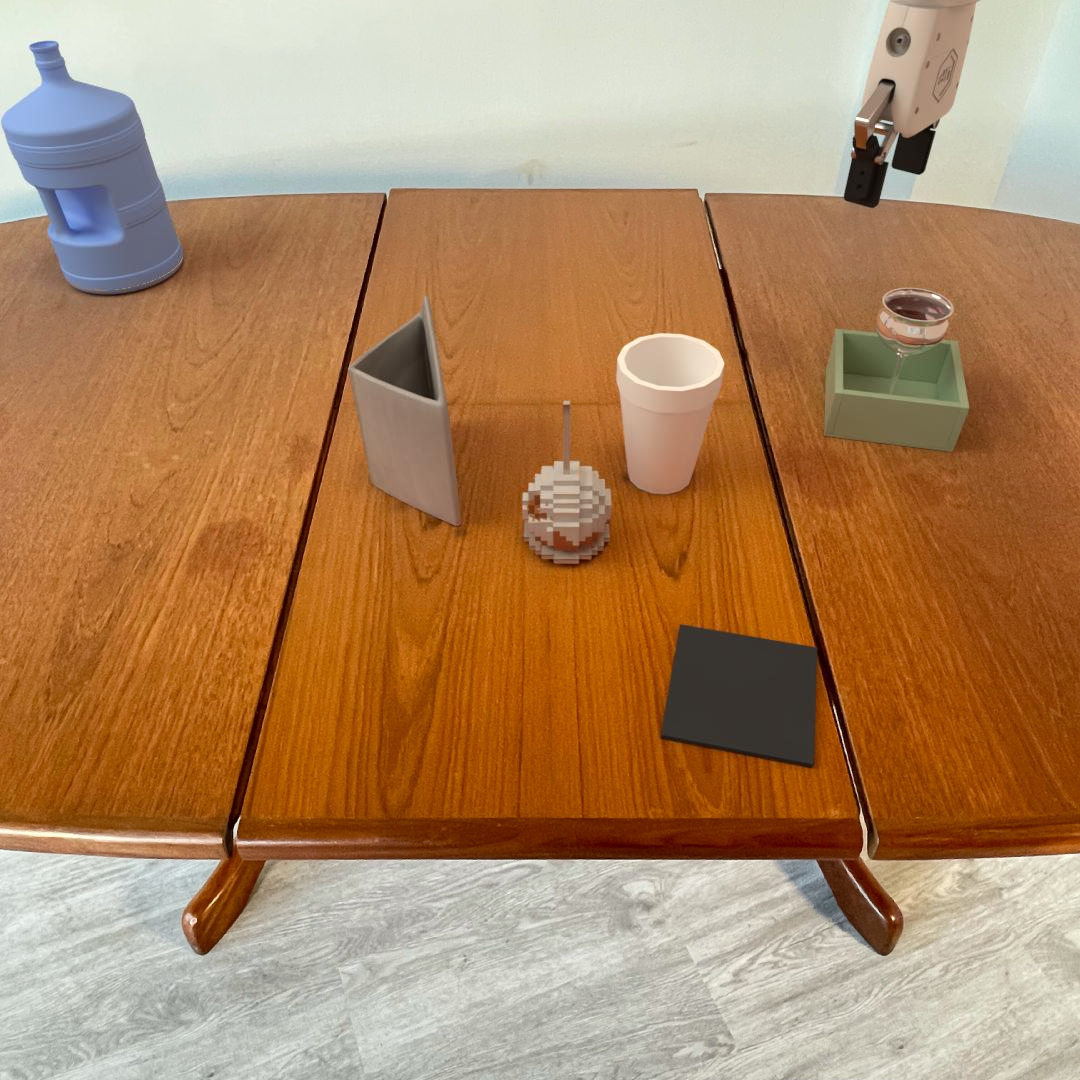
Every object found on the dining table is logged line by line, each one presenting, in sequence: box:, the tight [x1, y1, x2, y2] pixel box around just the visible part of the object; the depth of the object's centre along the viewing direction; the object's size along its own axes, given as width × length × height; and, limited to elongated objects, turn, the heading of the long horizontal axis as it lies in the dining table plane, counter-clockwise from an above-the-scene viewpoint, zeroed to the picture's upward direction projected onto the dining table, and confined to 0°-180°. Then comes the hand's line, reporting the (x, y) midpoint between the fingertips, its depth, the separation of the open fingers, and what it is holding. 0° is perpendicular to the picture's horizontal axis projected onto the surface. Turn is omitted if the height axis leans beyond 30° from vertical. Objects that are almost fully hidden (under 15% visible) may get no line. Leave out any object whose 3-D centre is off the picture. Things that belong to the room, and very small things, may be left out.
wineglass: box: [875, 287, 955, 395], centre depth 90 cm, size 7×7×12 cm
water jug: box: [0, 40, 184, 295], centre depth 112 cm, size 16×16×28 cm
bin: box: [823, 328, 970, 453], centre depth 92 cm, size 13×13×5 cm
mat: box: [660, 624, 818, 768], centre depth 68 cm, size 11×11×1 cm
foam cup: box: [615, 332, 726, 495], centre depth 83 cm, size 10×9×13 cm
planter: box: [347, 295, 462, 527], centre depth 81 cm, size 16×8×19 cm, turn 12°
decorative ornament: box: [521, 400, 612, 565], centre depth 76 cm, size 8×8×15 cm
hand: (884, 186), depth 83 cm, fingers open, 9 cm apart
